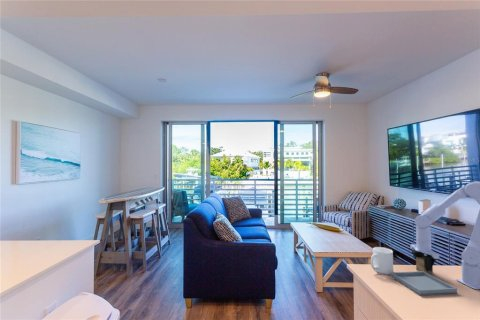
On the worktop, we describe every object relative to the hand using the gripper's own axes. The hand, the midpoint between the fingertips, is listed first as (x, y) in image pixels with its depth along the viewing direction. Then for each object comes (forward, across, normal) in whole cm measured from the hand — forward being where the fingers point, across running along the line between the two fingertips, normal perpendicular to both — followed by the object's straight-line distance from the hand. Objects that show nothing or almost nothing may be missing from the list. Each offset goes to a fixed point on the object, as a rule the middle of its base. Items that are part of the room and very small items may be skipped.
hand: (424, 268), depth 117 cm
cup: (+2, -2, -21) cm, 21 cm away
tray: (+2, +12, -12) cm, 17 cm away
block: (+1, 0, 0) cm, 1 cm away
